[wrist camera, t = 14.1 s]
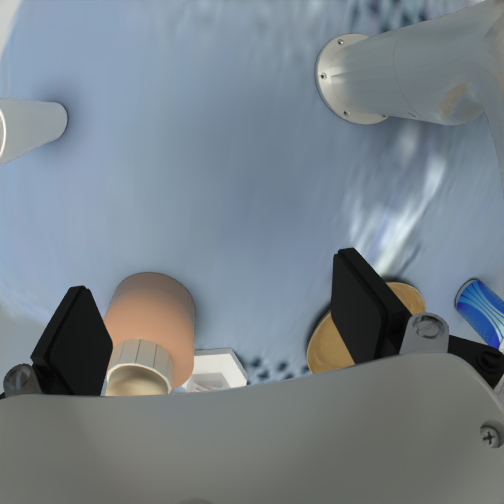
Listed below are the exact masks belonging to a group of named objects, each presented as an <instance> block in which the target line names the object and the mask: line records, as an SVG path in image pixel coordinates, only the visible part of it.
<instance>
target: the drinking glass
mask: <svg viewBox="0 0 504 504" xmlns="http://www.w3.org/2000/svg"><path fill="white" fill-rule="evenodd" d="M66 126H67V113H66V110H65V109H64V107H63V106H62V105H61V104H59V103H57V102H44V101H36V100H27V99H18V98H0V166H2V165H5V164H7V163H9V162H12V161H13V160H15V159H17V158H19V157H21V156H23V155H25V154H27V153H28V152H30V151H32V150H34V149H36V148H38V147H40V146H42V145H44V144H46V143H49V142H52V141H55V140H56V139H58V138H59V137H60V136H61V135H62V134H63V132H64V131H65V128H66Z"/></svg>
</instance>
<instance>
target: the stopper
mask: <svg viewBox="0 0 504 504" xmlns="http://www.w3.org/2000/svg"><path fill="white" fill-rule="evenodd" d="M157 394H168V386H167V383H166V382H165V380H164V379H163V378H162V377H161V376H160V375H158V374H157V373H155V372H154V371H152V370H149V369H147V368H144V367H140V366H132V365H127V366H121V367H118V368H116V369H115V370H113V371H112V373H111V374H110V378H109V382H108V386H107V389H106V394H105V396H134V395H157Z"/></svg>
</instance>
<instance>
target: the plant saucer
mask: <svg viewBox="0 0 504 504" xmlns="http://www.w3.org/2000/svg"><path fill="white" fill-rule="evenodd" d="M385 283H386V284H387V285H388V286H389V287H390V289H391V290H392V291H393V292H394V293H395V294H396V296H397V297H398V298H399V299H400V300H401V301H402V303H403V304H404V305H405V306H406V307H407V309H408V310H409V311H410V312H411V313H412V315H415V314H418V313H424V312H426V307H425V302H424V299H423V297H422V295H421V294H420V293H419V291H418V290H416V289H415V288H414V287H412V286H410V285H407V284H404V283H399V282H385ZM307 364H308V367H309V369H310V371H311V372H312V374H316V373H320V372H325V371H330V370H334V369H339V368H343V367H347V366H351V365H355V363H354V361H353V359H352V357H351V356H350V354H349V352H348V350H347V348H346V346H345V344H344V342H343V340H342V338H341V336H340V334H339V332H338V330H337V328H336V327H335V325H334V323H333V321H332V318H331V309H330V310H329V311H328V312H327V313H326V314H325V316H324V317H323V318H322V319H321V321H320V322H319V323H318V325H317V326H316V328H315V330H314V332H313V334H312V336H311V339H310V341H309V345H308V349H307Z"/></svg>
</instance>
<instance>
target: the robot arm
mask: <svg viewBox="0 0 504 504" xmlns="http://www.w3.org/2000/svg"><path fill="white" fill-rule="evenodd" d="M338 42H339V43H340V45H339V44H338ZM320 75H322V76H323V78H321V77H320ZM315 80H316V84H317V88H318V91H319V93H320V95H321V97H322V99H323V100H324V102H325V104H326V105H327V106H328V107H329V108H330V109H331V110H332V111H333V112H334V113H335V114H336V115H338V116H339V117H341V118H343V119H344V120H346V121H349V122H352V123H355V124H362V125H371V124H376V123H379V122H381V121H383V120H385V119H387V118H388V117H389V116H393V117H401V118H407V119H414V120H420V121H426V122H431V123H437V124H443V125H451V126H455V125H463V124H466V123H468V122H471V121H473V120H474V119H476V118H477V117H478V116H480V115H481V114H482V113H483V112H484V111H485V113H486V116H487V119H488V122H489V126H490V129H491V134H492V136H493V139H494V144H495V148H496V153H497V159H498V164H499V170H500V176H501V183H502V188H503V195H504V0H485V1H482V2H480V3H477V4H475V5H472V6H470V7H468V8H465V9H463V10H460V11H457V12H454V13H452V14H448V15H445V16H441V17H437V18H434V19H431V20H427V21H423V22H419V23H416V24H412V25H408V26H405V27H401V28H398V29H394V30H391V31H388V32H385V33H382V34H379V35H376V36H373V37H370V36H367V35H363V34H357V33H350V34H344V35H341V36H339V37H336V38H334V39H333V40H331V41H329V42H328V43H327V44H326V45H325V46H324V47H323V49H322V50H321V52H320V53H319V56H318V58H317V61H316V66H315ZM344 111H345V115H344ZM331 318H332V321H333V323H334V325H335V327H336V328H337V330H338V332H339V334H340V336H341V338H342V340H343V342H344V344H345V346H346V348H347V350H348V352H349V354H350V356H351V357H352V359H353V361H354V363H355V365H351V366H347V367H343V368H339V369H334V370H330V371H325V372H320V373H316V374H311V375H306V376H301V377H296V378H291V379H285V380H280V381H274V382H268V383H262V384H255V385H248V386H241V387H234V388H226V389H217V390H208V391H198V392H187V393H174V394H157V395H134V396H100V394H101V390H102V387H103V383H104V379H105V376H106V372H107V369H108V365H109V362H110V358H111V355H112V351H113V342H112V339H111V337H110V335H109V333H108V331H107V328H106V326H105V324H104V322H103V319H102V317H101V315H100V313H99V310H98V308H97V306H96V303H95V301H94V298H93V296H92V293H91V291H90V290H89V289H86V287H85V286H75V287H70V288H69V290H68V292H67V293H66V295H65V296H64V298H63V300H62V301H61V303H60V305H59V306H58V308H57V310H56V311H55V313H54V315H53V316H52V318H51V320H50V322H49V323H48V325H47V327H46V329H45V330H44V332H43V334H42V336H41V338H40V340H39V342H38V344H37V345H36V347H35V349H34V351H33V353H32V355H31V357H30V358H31V359H32V361H33V365H32V366H31V365H29V364H25V363H23V364H19V365H16V366H14V367H13V368H12V369H10V370H9V372H8V373H7V374H6V376H5V377H4V381H3V388H4V392H3V393H2V394H1V395H0V504H504V355H503V354H502V352H501V351H499V350H498V349H496V348H494V347H492V346H488V345H484V344H481V343H477V342H474V341H470V340H466V339H463V338H459V337H456V336H452V335H449V326H448V324H447V322H446V321H445V320H444V319H443V318H441V317H439V316H438V315H435V314H432V313H426V312H424V313H418V314H415V315H412V313H411V312H410V311H409V310H408V309H407V307H406V306H405V305H404V304H403V303H402V301H401V300H400V299H399V298H398V297H397V296H396V294H395V293H394V292H393V291H392V290H391V289H390V287H389V286H388V285H387V284H386V283H385V282H384V280H383V279H382V278H381V277H380V276H379V275H378V274H377V273H376V272H375V270H374V269H373V268H372V267H371V266H370V265H369V264H368V263H367V261H366V260H365V259H364V258H363V257H362V256H361V255H360V254H359V253H358V252H357V250H356V249H355V248H346V249H340V250H338V254H334V257H333V278H332V296H331Z"/></svg>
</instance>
